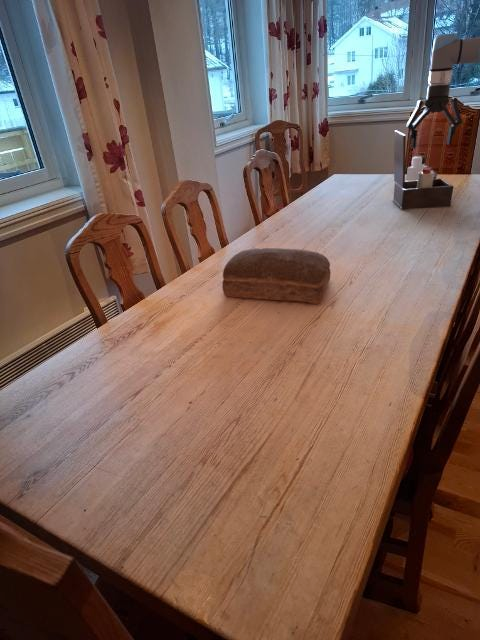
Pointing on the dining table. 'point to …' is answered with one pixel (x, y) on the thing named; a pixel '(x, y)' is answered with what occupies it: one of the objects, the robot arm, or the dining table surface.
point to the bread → (277, 275)
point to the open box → (423, 195)
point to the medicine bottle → (415, 168)
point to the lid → (399, 158)
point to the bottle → (425, 178)
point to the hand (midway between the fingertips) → (430, 146)
